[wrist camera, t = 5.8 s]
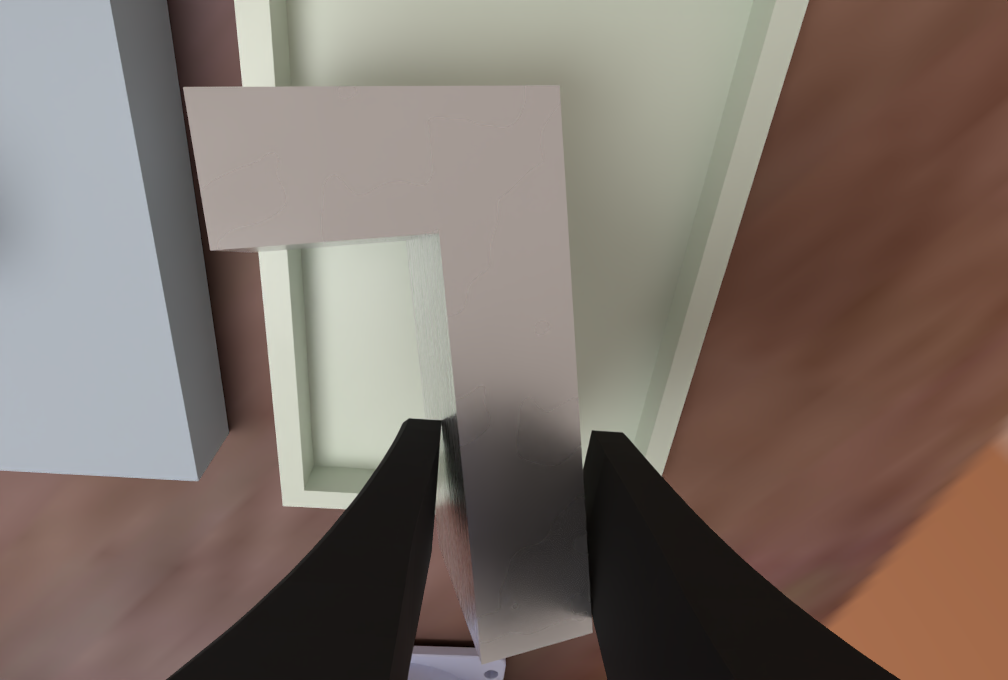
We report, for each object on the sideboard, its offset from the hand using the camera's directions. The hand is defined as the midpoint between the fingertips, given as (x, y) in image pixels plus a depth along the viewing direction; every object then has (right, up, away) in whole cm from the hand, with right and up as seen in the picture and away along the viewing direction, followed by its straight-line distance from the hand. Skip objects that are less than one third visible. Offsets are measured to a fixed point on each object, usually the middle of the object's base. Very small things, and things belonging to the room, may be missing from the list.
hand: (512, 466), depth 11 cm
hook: (-2, +2, +1) cm, 3 cm away
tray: (0, +5, +3) cm, 6 cm away
